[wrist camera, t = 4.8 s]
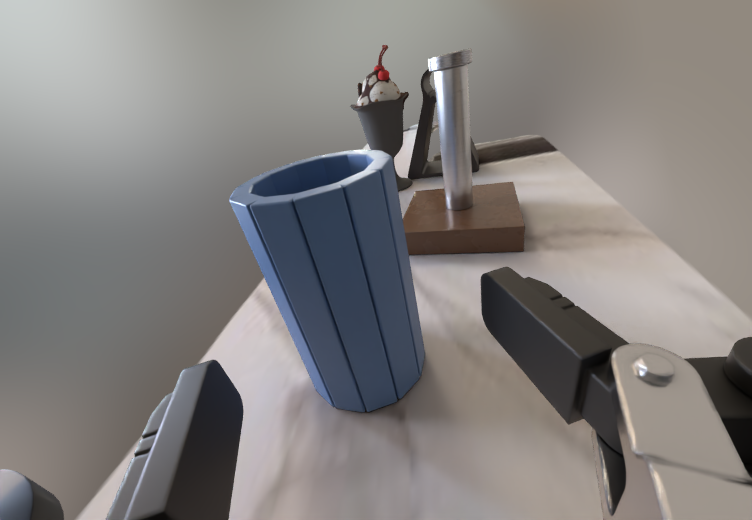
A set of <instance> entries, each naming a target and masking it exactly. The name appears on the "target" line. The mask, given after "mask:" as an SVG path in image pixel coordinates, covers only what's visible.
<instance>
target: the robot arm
mask: <svg viewBox="0 0 752 520" xmlns="http://www.w3.org/2000/svg"><path fill="white" fill-rule="evenodd" d="M481 303H482V316H483V320H484V322H485V325H486V327H487V328H488V330H489V331H490V333H491V334H492V335H493V336H494V337H495V339H496V340H497V341H498V342H499V343H500V344H501V346H502V347H503V348H504V349H505V350H506V352H507V353H508V354H509V355H510V356H511V357H512V359H513V360H514V361H515V362H516V363H517V365H518V366H519V367H520V368H521V369H522V370H523V372H524V373H525V374H526V375H527V376H528V377H529V379H530V380H531V381H532V382H533V383H534V385H535V386H536V387H537V388H538V389H539V390H540V392H541V393H542V394H543V395H544V396H545V398H546V399H547V400H548V401H549V402H550V403H551V405H552V406H553V407H554V408H555V409H556V410H557V412H558V413H559V414H560V415H561V416H562V418H563V419H564V420H565V421H566V422H567V423H568V425H569V424H571V423H574V422H576V421H579V420H581V419H585V420H586V421H587V422H588V423H589V424H590V425H591V427H592V442H593V449H594V456H595V463H596V470H597V477H598V484H599V491H600V498H601V505H602V512H603V520H752V337H748V338H743V339H741V340H738V341H737V342H736V343H735V344H734V346H733V348H732V350H731V352H730V353H729V355H728V357H710V358H689V359H683V358H681V357H680V356H678V355H676V354H674V353H672V352H670V351H668V350H665V349H663V348H660V347H656V346H652V345H647V344H629V343H628V342H626V341H625V340H623V339H622V338H621V337H619V336H618V335H617V334H615V333H614V332H612V331H611V330H610V329H608V328H607V327H606V326H604V325H603V324H601V323H600V322H599V321H597V320H596V319H595V318H593V317H592V316H591V315H589V314H588V313H586V312H585V311H584V310H582V309H581V308H580V307H578V306H575V305H574V303H573V302H571V301H570V300H569V299H567V298H566V297H562V294H560V293H559V292H558V291H556V290H555V289H554V288H552V287H551V286H549V285H548V284H546V283H543V282H541V281H538V280H535V279H533V278H530V277H528V278H525V279H524V278H523V277H521V276H520V275H519V274H517V273H516V272H515V271H514V270H512V269H511V268H509V267H503V268H500V269H497V270H494V271H491V272H488V273H485V274H483V275H482V276H481ZM242 421H243V404H242V399H241V396H240V394H239V392H238V391H237V389H236V388H235V386H234V385H233V383H232V382H231V380H230V379H229V377H228V376H227V374H226V373H225V371H224V370H223V368H222V367H221V365H220V364H219V363H218V362H217V361H216V360H210V361H207V362H204V363H201V364H198V365H195V366H192V367H189V368H186V369H184V370H183V371H182V372H181V374H180V376H179V379H178V382H177V384H176V387H175V389H174V392H173V393H171V394H168V395H166V396H165V398H164V399H163V400H162V401H161V403H160V404H159V405H158V407H157V408H156V409H155V410H154V412H153V413H152V414H151V416H150V419H149V421H148V423H147V425H146V428H145V430H144V432H143V435H142V437H143V439H142V440H140V442H139V444H138V446H137V449H136V451H135V453H134V454H135V458H132V460H131V462H130V465H129V467H128V469H127V472H126V474H125V476H124V479H123V481H122V483H121V485H120V488H119V490H118V492H117V495H116V497H115V499H114V502H113V504H112V506H111V509H110V511H109V513H108V516H107V518H106V520H228V518H229V511H230V504H231V497H232V490H233V483H234V476H235V469H236V462H237V456H238V449H239V442H240V435H241V428H242Z"/></svg>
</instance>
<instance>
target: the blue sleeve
mask: <svg viewBox="0 0 752 520" xmlns="http://www.w3.org/2000/svg"><path fill="white" fill-rule="evenodd" d="M229 201H230V203H231V205H232V208H233V210H234V212H235V214H236V216H237V219H238V221H239V223H240V225H241V227H242V229H243V232H244V234H245V236H246V238H247V240H248V243H249V245H250V247H251V249H252V251H253V253H254V255H255V258H256V260H257V262H258V264H259V267H260V269H261V271H262V273H263V275H264V277H265V280H266V282H267V284H268V286H269V288H270V291H271V293H272V295H273V297H274V299H275V301H276V304H277V306H278V308H279V310H280V312H281V314H282V317H283V319H284V321H285V323H286V325H287V328H288V330H289V332H290V334H291V336H292V338H293V341H294V343H295V345H296V347H297V349H298V351H299V354H300V356H301V358H302V360H303V362H304V365H305V367H306V369H307V371H308V373H309V375H310V378H311V380H312V382H313V384H314V386H315V388H316V391H317V392H318V393H319V394H320V395H321V396H322V397H323V398H324V399H325V400H326V401H327V402H328V403H329V404H330V405H332V406H333V407H336V408H337V409H344V410H351V411H358V412H365V409H366V410H367V412H370V411H373V410H376V409H378V408H381V407H384V406H387V405H389V404H392V403H395V402H397V398H399V399H401V398H402V397H403V396H404V395H405V394H406V393H407V392H408V390H409V389H410V388H411V387H412V386H413V385H414V384H415V383H416V382H417V381H418V380H419V376H421V373H422V368H423V362H424V357H425V350H424V344H423V338H422V333H421V327H420V321H419V315H418V309H417V303H416V297H415V291H414V285H413V279H412V273H411V267H410V261H409V255H408V249H407V243H406V237H405V231H404V225H403V219H402V213H401V207H400V201H399V195H398V189H397V183H396V177H395V171H394V165H393V159H392V157H391V156H390V155H388V154H387V153H385V152H383V151H381V150H380V151H379V150H356V151H354V150H351V151H345V152H338V153H331V154H326V155H325V156H323V155H320V156H316V157H313V158H309V159H305V160H301V161H297V162H293V163H292V164H287V165H284V166H281V167H279V168H276V169H273V170H271V171H268V172H265V173H262V174H261V175H258V176H256V177H254V178H252V179H251V180H249V181H247V182H245V183H244V184H242V185H240V186H238V187H237V188H236V189H235V190H234V192H233V194H232V195H231V197H230V199H229Z"/></svg>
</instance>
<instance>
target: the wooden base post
mask: <svg viewBox="0 0 752 520" xmlns="http://www.w3.org/2000/svg"><path fill="white" fill-rule="evenodd" d="M428 61H429V71H430V72H433V71H434V77H435V89H436V100H437V111H438V123H439V133H440V145H441V157H442V168H443V179H444V189H435V190H425V191H416V192H415V194H414V196H413V198H412V200H411V202H410V204H409V207H408V209H407V211H406V213H405V215H404V218H403V225H404V231H405V237H406V243H407V249H408V255H414V254H448V253H482V252H516V251H523V250H524V233H525V226H524V222H523V218H522V214H521V210H520V207H519V203H518V199H517V195H516V191H515V187H514V184H513V182H507V183H497V184H486V185H476V186H472V164H471V140H470V116H469V92H468V70H467V69H468V67H467V64H469V63H471V62H472V49H466V50H461V51H457V52H452V53H448V54H444V55H440V56H436V57H432V58H429V59H428Z"/></svg>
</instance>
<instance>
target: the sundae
mask: <svg viewBox="0 0 752 520" xmlns="http://www.w3.org/2000/svg"><path fill="white" fill-rule="evenodd" d="M382 47H383V49H382V51H381V53H380V56H379V61H378V65H377V66H376V67H375V68H374V72H372V73H371V74H369V75H368V76H367V77H366V78H365V80H364V82H363V84H361V83H359V84H358V94H359V99H358V102H357V104H356V105H351V106H350V107H351V108H352V109H353V110H355V111H357V112H358V115H359V118H360V121H361V123H362V126H363V129H364V133H365V135H366V139H367V142H368V144H369V146H370V149H371V150H379V151H380V150H381V151H383V152H385V153H387V154H388V155H390V156H391V157H392V159H393V165H394V157H395V156H396V154H397V153H398V152H399V151H400V149H401V147H402V145H403V109H404V102H405V100H406V98H407V97H408V95H409V94H408V92H405V93H400V91H399V89H398V87H397V85H396V84H395V83H394V82H392V81H391V80H390V78H389V72H388V71H387V70H385V69H384V67H383V66H382V63H381V61H382V56H383V54H384V52H385V51H386V50H387V48H388V46H387V45H383V46H382ZM384 49H385V50H384ZM383 50H384V52H383ZM382 52H383V53H382ZM381 54H382V55H381ZM380 57H381V58H380ZM394 171H395V177H396V183H397V189H398V191H399V190H402V189H405V188H407V187H409V186H410V185H411V184H412V180H411V179H409V178H401V177H399V176H398V174H397V173H396V170H395V166H394Z"/></svg>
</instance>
